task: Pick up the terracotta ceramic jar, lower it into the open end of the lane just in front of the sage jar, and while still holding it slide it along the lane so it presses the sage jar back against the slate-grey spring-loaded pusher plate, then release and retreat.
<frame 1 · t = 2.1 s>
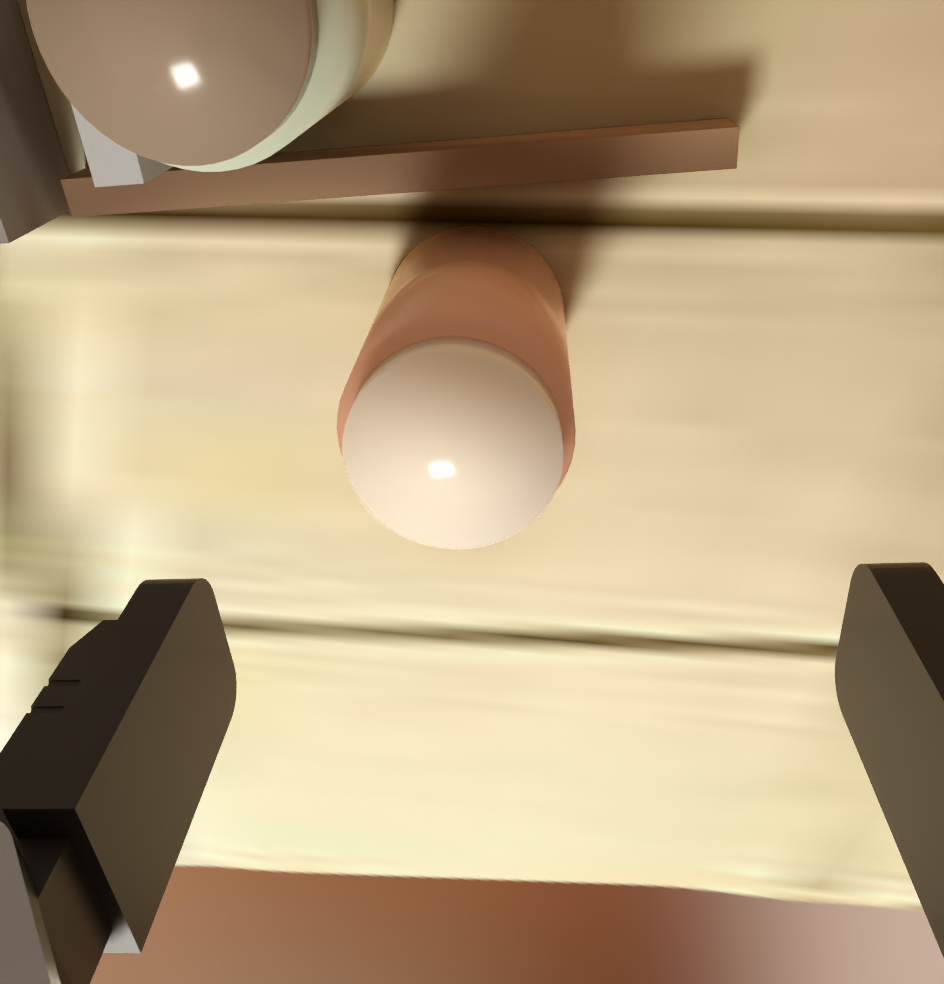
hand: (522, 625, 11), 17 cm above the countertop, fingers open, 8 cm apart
terracotta jar: (474, 315, 27), on the countertop
pusher plate: (116, 16, 21), point 2 cm above the countertop, slide at 0.0 cm
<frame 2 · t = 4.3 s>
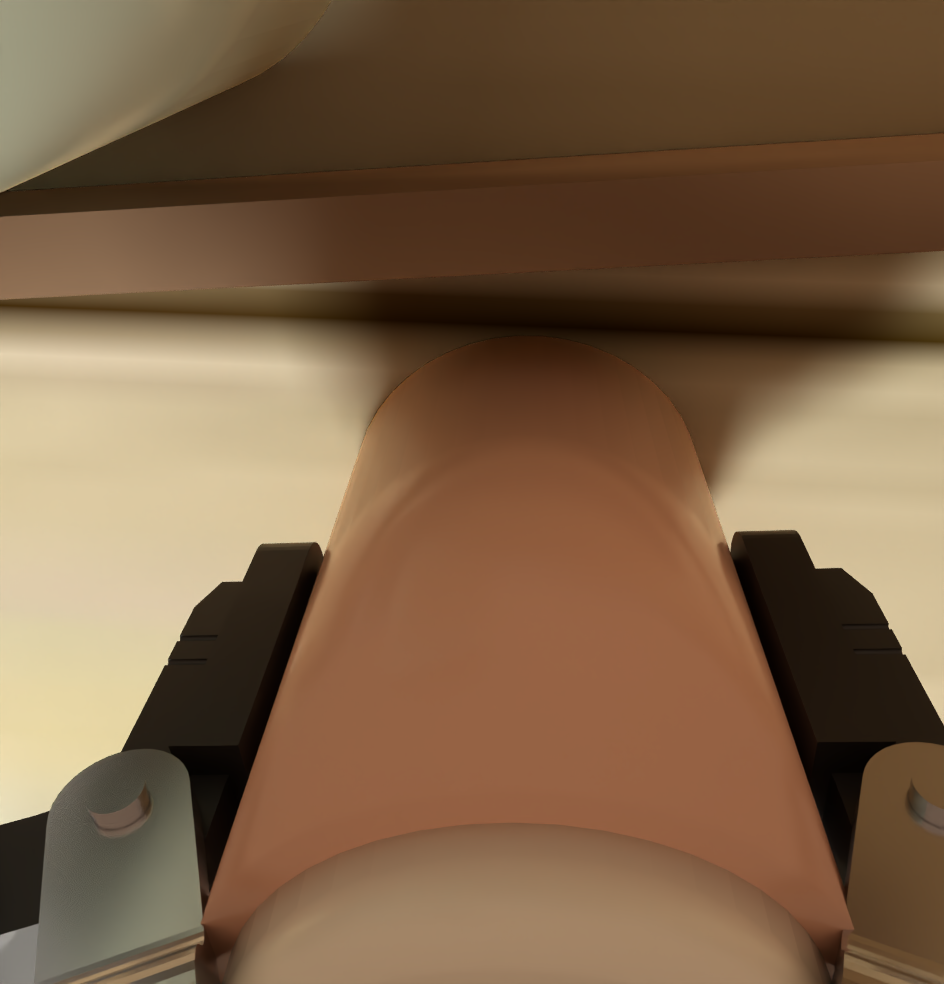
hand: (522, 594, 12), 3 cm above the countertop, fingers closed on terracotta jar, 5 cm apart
terracotta jar: (525, 497, 14), on the countertop, touching gripper
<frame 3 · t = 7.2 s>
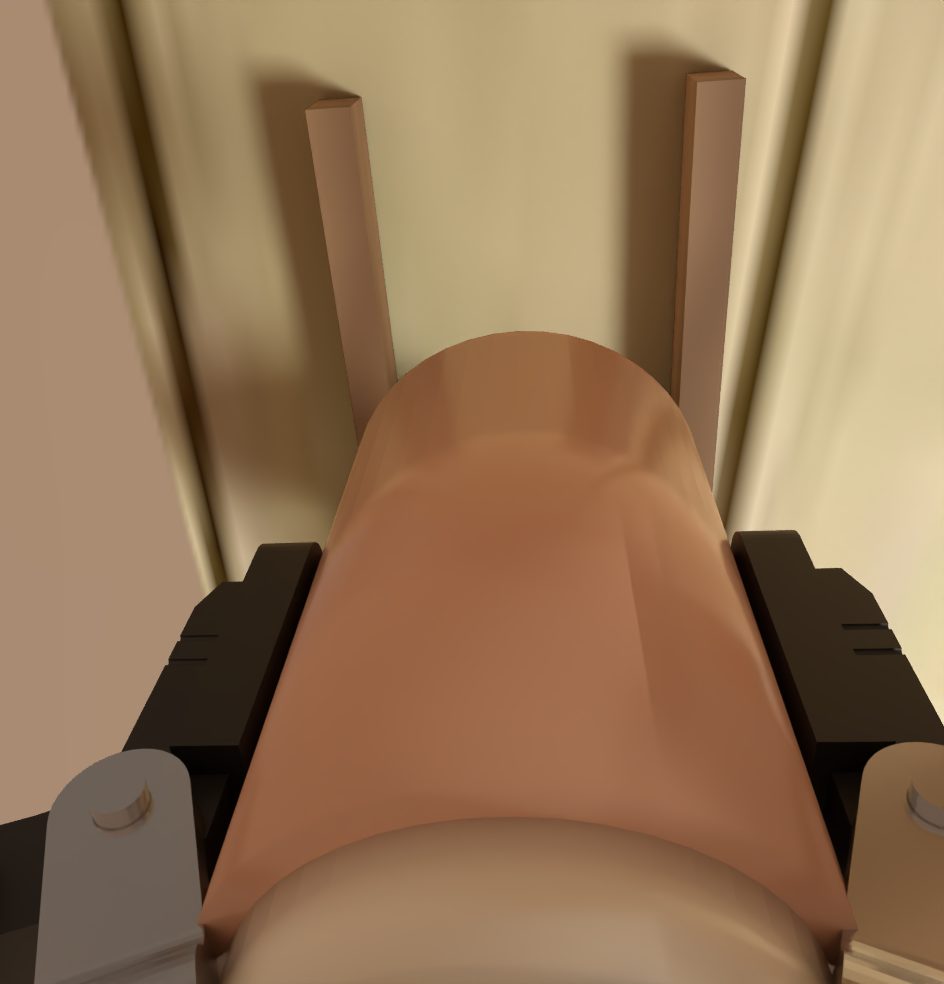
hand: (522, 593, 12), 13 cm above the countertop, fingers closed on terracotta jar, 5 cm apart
terracotta jar: (525, 493, 14), point 10 cm above the countertop, touching gripper
lane: (535, 435, 25), on the countertop
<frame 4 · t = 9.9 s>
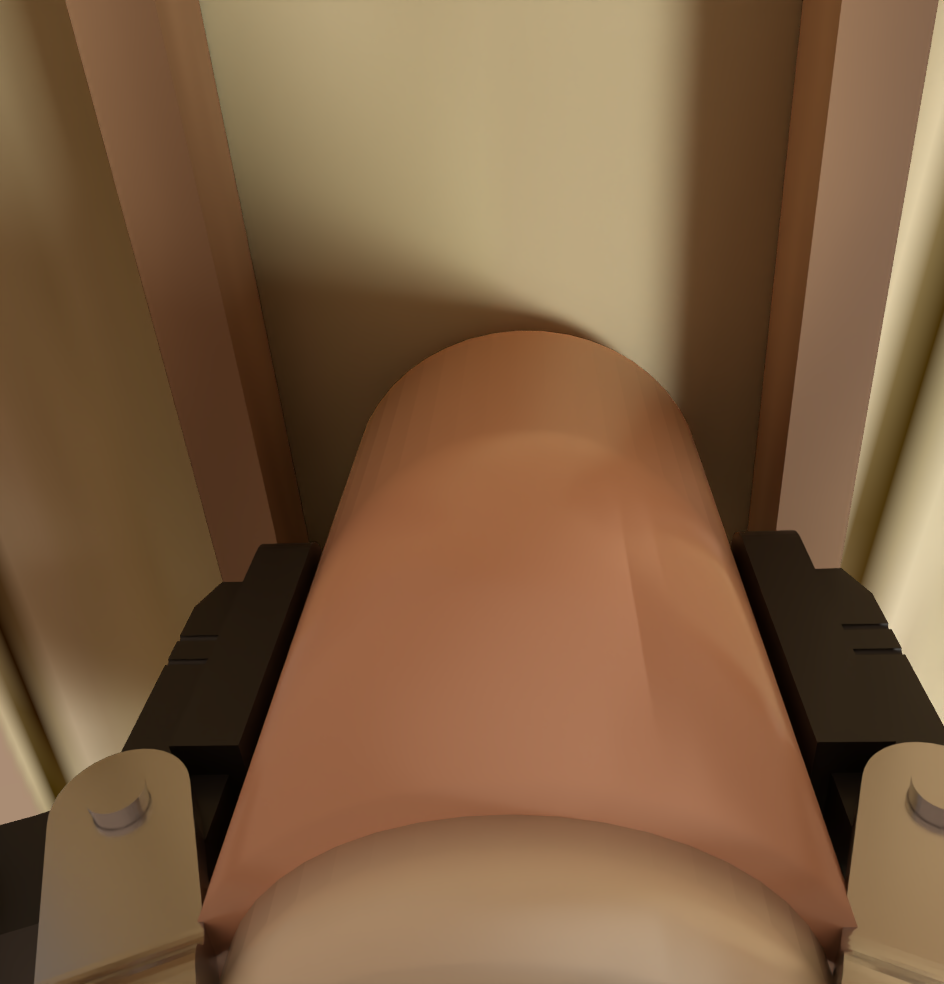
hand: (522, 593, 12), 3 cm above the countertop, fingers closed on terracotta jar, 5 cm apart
terracotta jar: (525, 492, 14), resting in lane, touching gripper, sage jar
lane: (525, 554, 15), on the countertop
when the fingers open (3 cm above the countertop, at t = 10.3 s): terracotta jar stays where it is, resting in lane.
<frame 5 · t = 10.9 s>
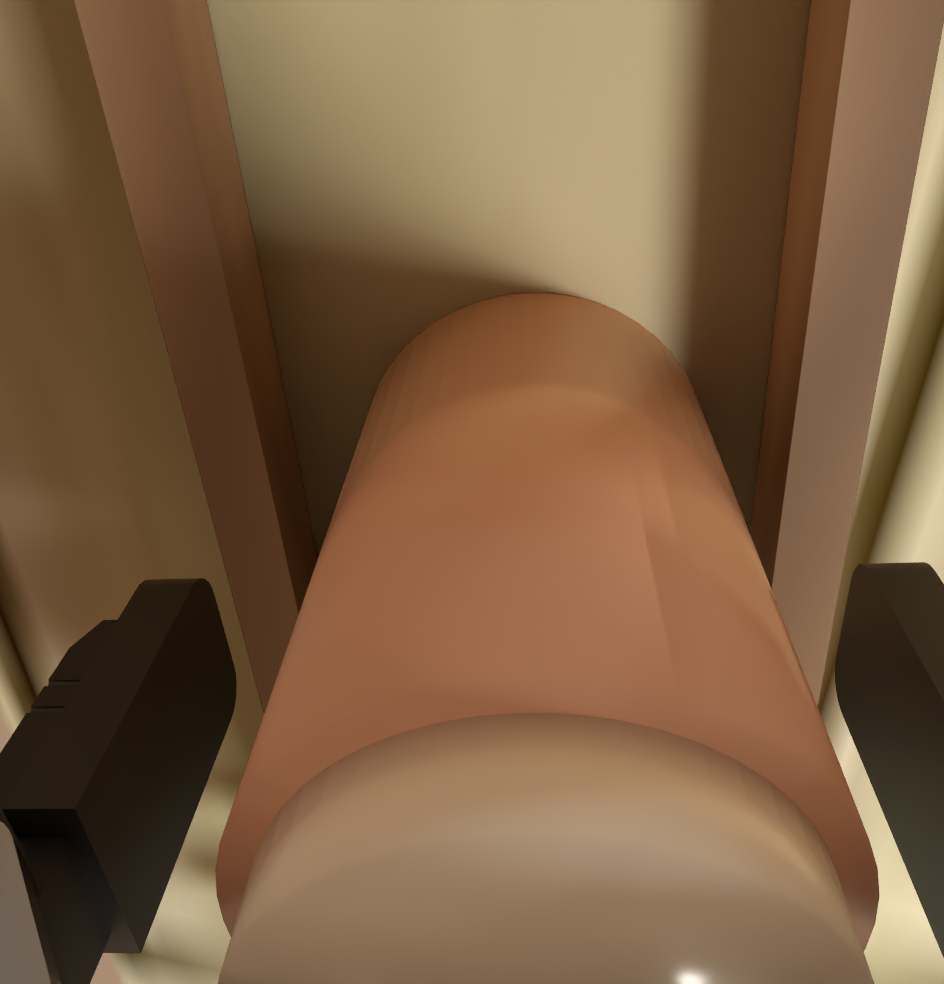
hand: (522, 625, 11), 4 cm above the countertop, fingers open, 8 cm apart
terracotta jar: (532, 455, 14), resting in lane
lane: (527, 530, 15), on the countertop
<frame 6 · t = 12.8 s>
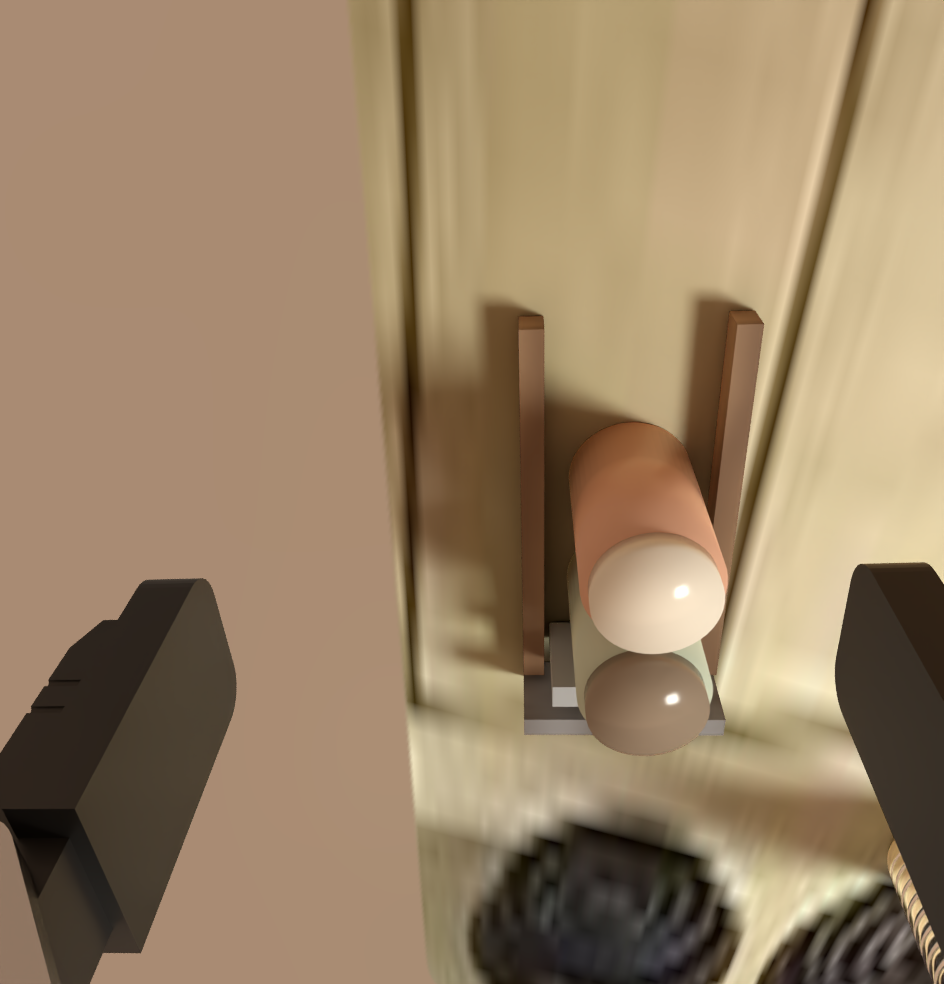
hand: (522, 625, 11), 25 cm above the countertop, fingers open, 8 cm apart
terracotta jar: (629, 476, 39), resting in lane
water bottle: (941, 844, 51), on the countertop
pusher plate: (622, 662, 42), point 2 cm above the countertop, slide at 1.4 cm
lane: (625, 503, 40), on the countertop
sage jar: (623, 574, 42), resting in lane
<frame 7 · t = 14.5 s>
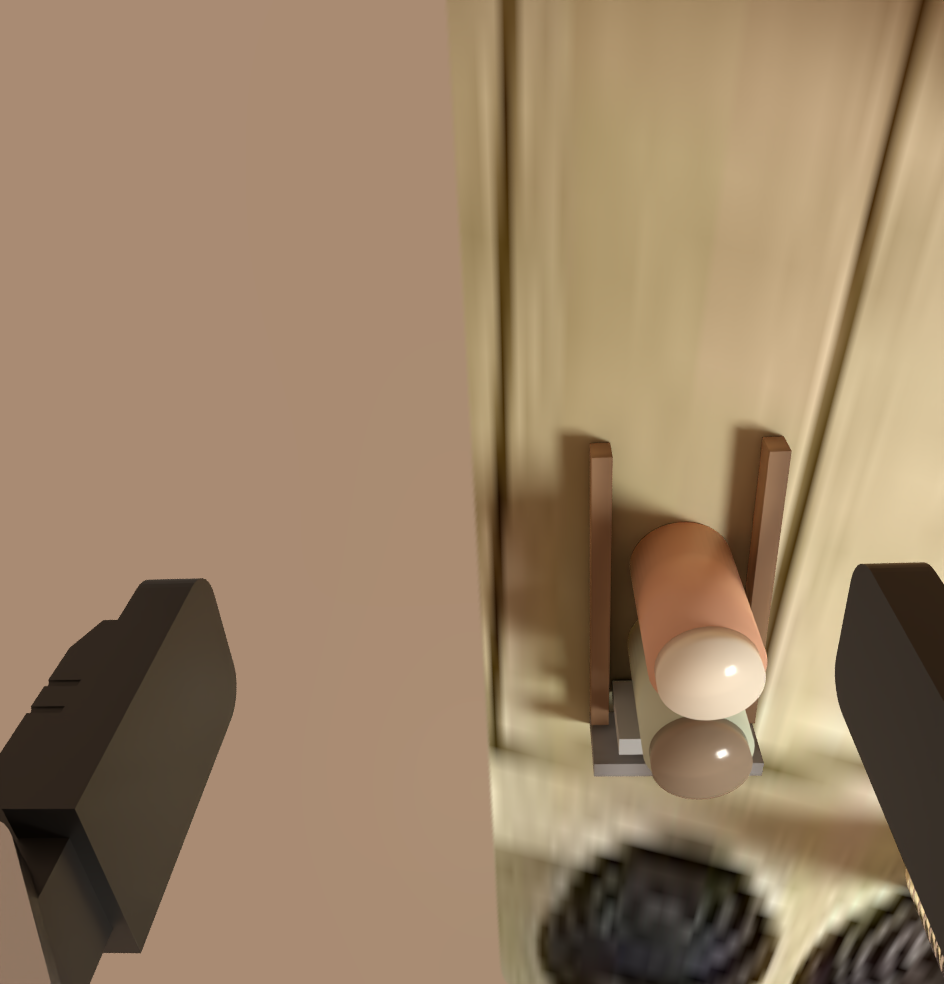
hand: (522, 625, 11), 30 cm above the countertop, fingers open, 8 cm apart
terracotta jar: (680, 564, 47), resting in lane
pusher plate: (676, 715, 50), point 2 cm above the countertop, slide at 1.4 cm
lane: (676, 585, 48), on the countertop
sage jar: (675, 641, 50), resting in lane
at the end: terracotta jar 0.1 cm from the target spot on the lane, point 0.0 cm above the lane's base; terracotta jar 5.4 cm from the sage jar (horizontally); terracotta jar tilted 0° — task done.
